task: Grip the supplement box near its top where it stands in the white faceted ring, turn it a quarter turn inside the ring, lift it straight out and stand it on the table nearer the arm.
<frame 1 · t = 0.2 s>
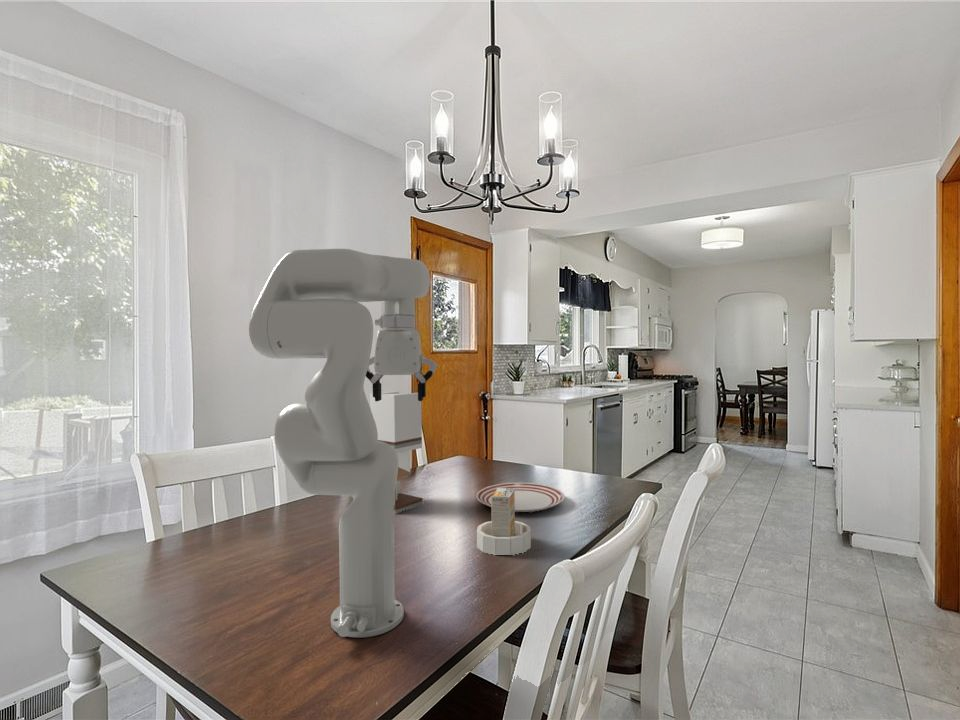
hand: (399, 400, 113), 37 cm above the table, tool pointing down, fingers open, 9 cm apart
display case: (397, 506, 156), on the table
white faceted ring: (503, 545, 123), on the table
dinner plate: (520, 504, 157), on the table
supplement box: (503, 546, 123), resting in white faceted ring
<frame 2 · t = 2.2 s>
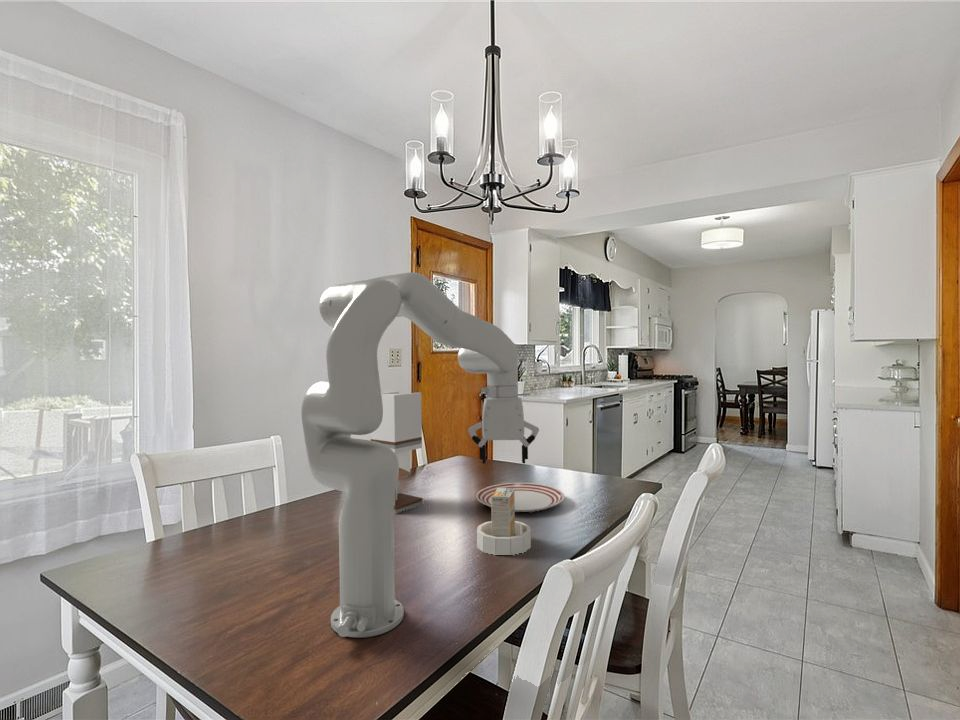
hand: (503, 462, 123), 20 cm above the table, tool pointing down, fingers open, 9 cm apart
nothing on the table moved.
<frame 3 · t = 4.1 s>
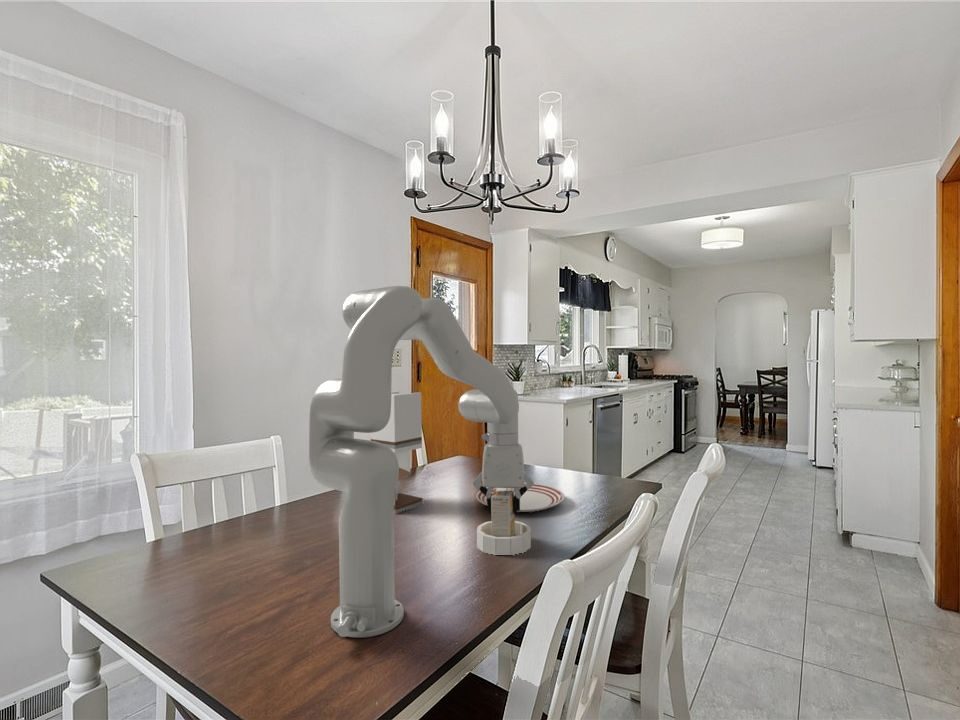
hand: (503, 512, 123), 8 cm above the table, tool pointing down, fingers closed on supplement box, 5 cm apart
supplement box: (503, 545, 123), resting in white faceted ring, touching gripper
everything else where it was.
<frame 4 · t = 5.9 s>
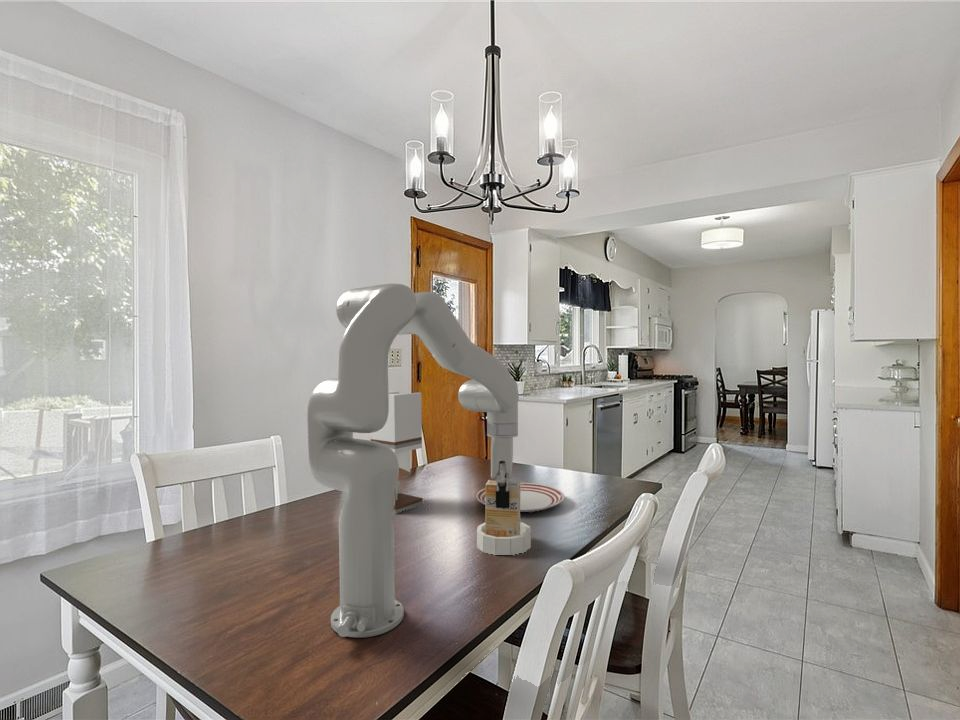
hand: (502, 503, 123), 10 cm above the table, tool pointing down, fingers closed on supplement box, 5 cm apart
supplement box: (503, 536, 123), point 2 cm above the table, touching gripper
everything else where it was.
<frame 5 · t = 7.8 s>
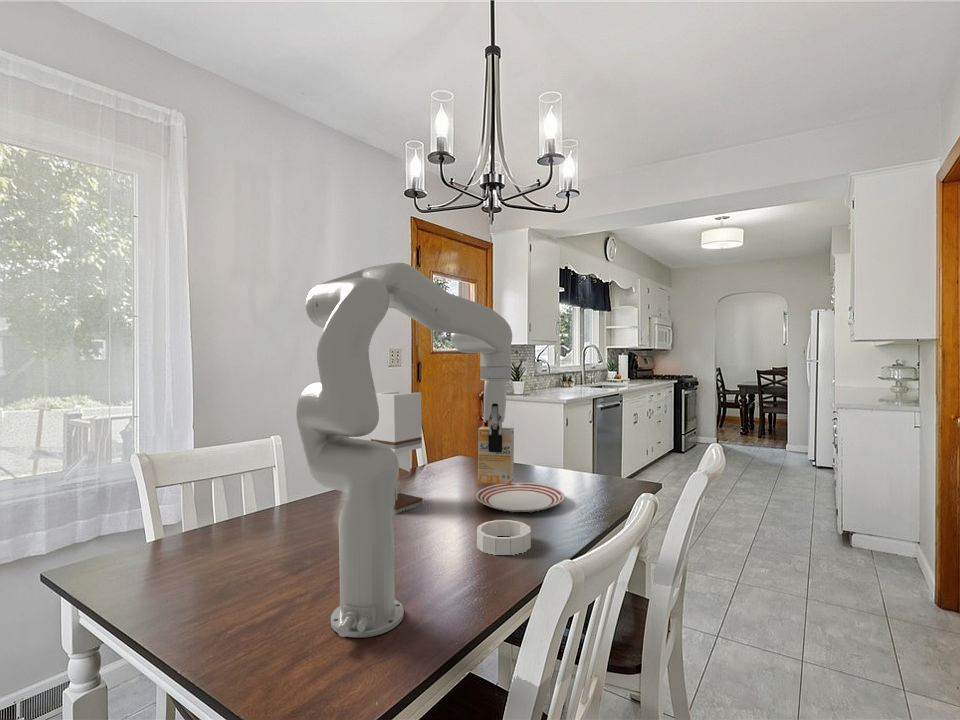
hand: (495, 448, 122), 24 cm above the table, tool pointing down, fingers closed on supplement box, 5 cm apart
supplement box: (496, 482, 122), point 16 cm above the table, touching gripper
everything else where it was.
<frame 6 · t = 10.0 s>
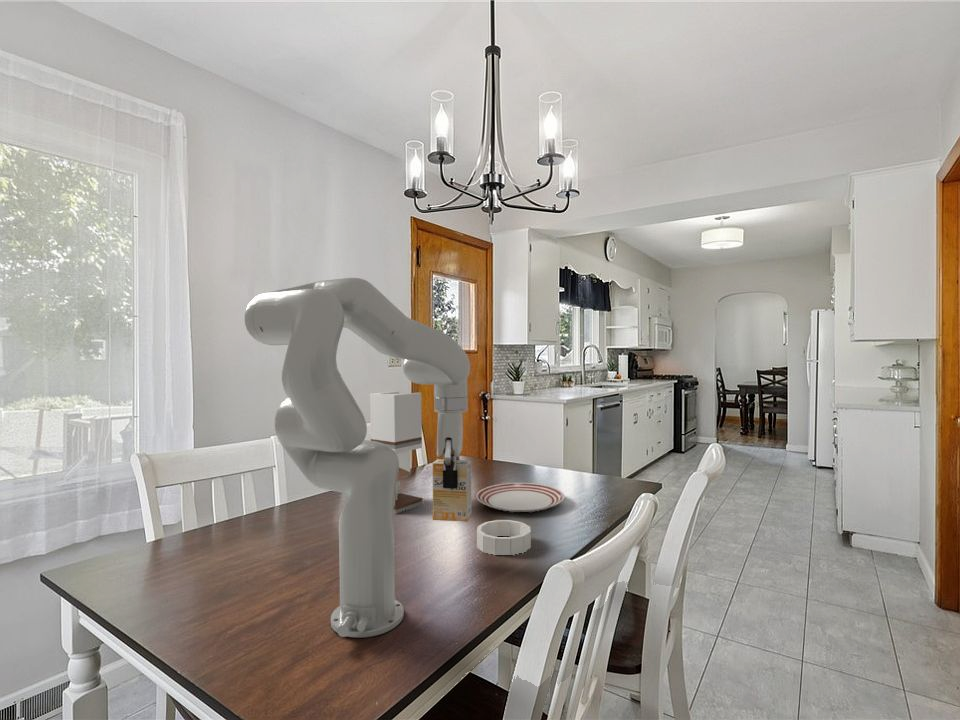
hand: (452, 483, 114), 17 cm above the table, tool pointing down, fingers closed on supplement box, 5 cm apart
supplement box: (452, 519, 115), point 9 cm above the table, touching gripper
everything else where it was.
when the fingers open (9 cm above the table, at t = 11.8 s): supplement box drops 1 cm, on the table.
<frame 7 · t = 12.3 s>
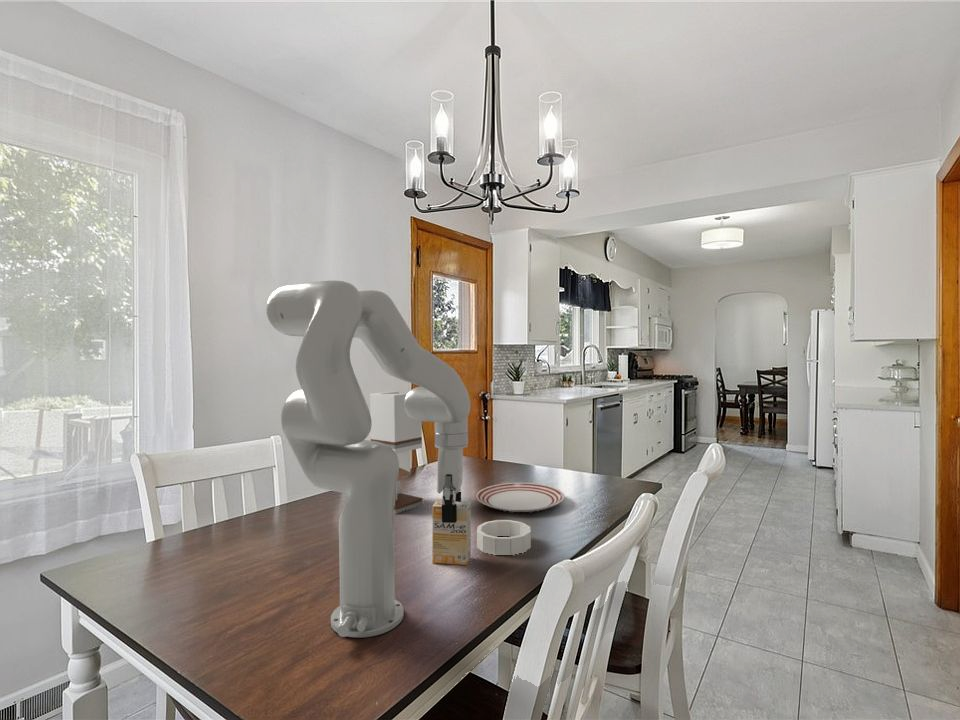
hand: (452, 515, 114), 10 cm above the table, tool pointing down, fingers open, 9 cm apart
supplement box: (452, 561, 114), on the table
everything else where it was.
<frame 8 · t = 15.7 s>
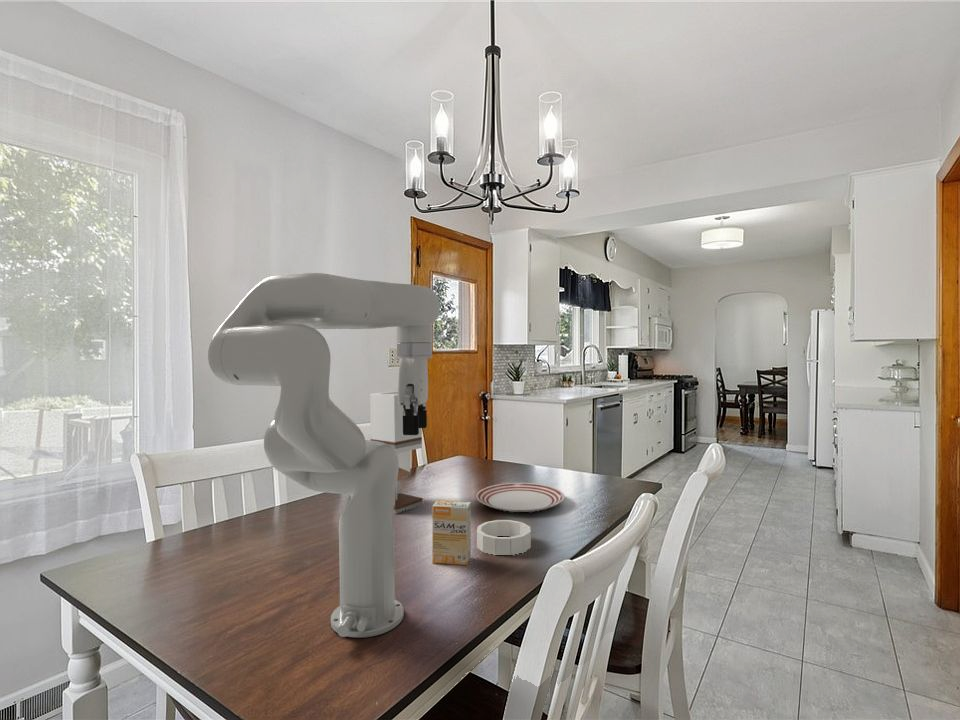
hand: (415, 431, 109), 30 cm above the table, tool pointing down, fingers open, 9 cm apart
nothing on the table moved.
at the end: supplement box inside the target area (0.3 cm from its centre), on the table; supplement box tilted 0°; the gripper is holding nothing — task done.
